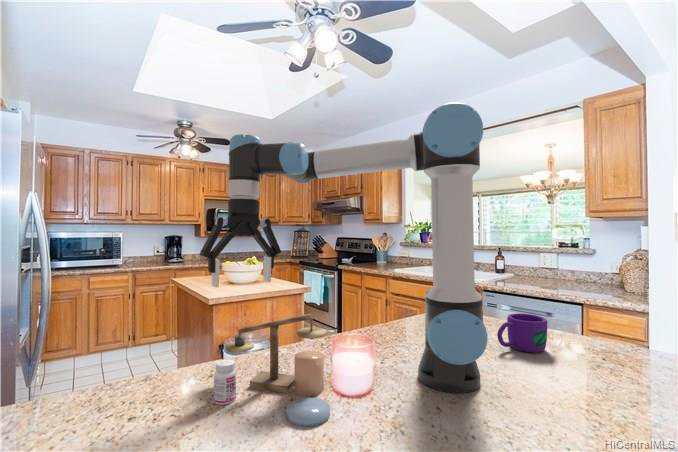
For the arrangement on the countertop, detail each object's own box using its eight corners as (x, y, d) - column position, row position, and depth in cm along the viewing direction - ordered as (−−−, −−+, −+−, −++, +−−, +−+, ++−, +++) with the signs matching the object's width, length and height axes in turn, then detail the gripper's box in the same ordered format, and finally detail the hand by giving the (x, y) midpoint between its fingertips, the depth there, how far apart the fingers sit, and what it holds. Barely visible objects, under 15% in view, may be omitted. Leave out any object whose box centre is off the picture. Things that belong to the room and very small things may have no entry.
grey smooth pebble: (335, 406, 76) (335, 401, 76) (321, 429, 67) (321, 423, 67) (297, 400, 78) (297, 395, 78) (278, 422, 70) (278, 416, 70)
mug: (526, 341, 120) (526, 311, 120) (556, 352, 109) (556, 320, 109) (484, 346, 115) (484, 315, 115) (512, 359, 104) (512, 325, 104)
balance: (329, 386, 86) (330, 311, 86) (320, 399, 79) (320, 319, 79) (235, 372, 93) (235, 304, 93) (219, 383, 86) (219, 310, 87)
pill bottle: (229, 406, 76) (229, 367, 76) (209, 404, 77) (209, 365, 77) (240, 396, 80) (240, 359, 80) (221, 394, 81) (221, 357, 81)
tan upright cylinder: (327, 385, 86) (327, 352, 86) (317, 398, 80) (318, 363, 80) (301, 381, 88) (301, 349, 88) (289, 393, 82) (289, 359, 82)
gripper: (280, 202, 98) (278, 277, 98) (187, 196, 82) (185, 286, 82) (294, 201, 92) (293, 281, 93) (197, 194, 77) (195, 291, 77)
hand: (242, 284), depth 87 cm, fingers open, 13 cm apart
